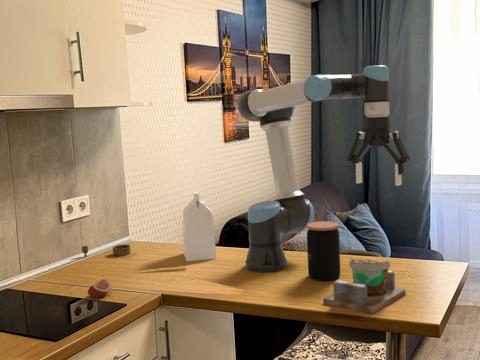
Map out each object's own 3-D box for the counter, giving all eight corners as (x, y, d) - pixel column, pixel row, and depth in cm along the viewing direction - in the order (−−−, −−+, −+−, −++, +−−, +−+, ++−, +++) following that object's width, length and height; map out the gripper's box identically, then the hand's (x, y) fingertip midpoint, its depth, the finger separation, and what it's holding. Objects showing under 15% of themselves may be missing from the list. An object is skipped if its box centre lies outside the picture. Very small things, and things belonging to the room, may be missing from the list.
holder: (323, 303, 171) (322, 280, 170) (358, 285, 186) (357, 264, 185) (372, 314, 160) (372, 289, 159) (405, 294, 175) (405, 271, 174)
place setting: (121, 265, 227) (120, 250, 226) (80, 261, 235) (78, 247, 234) (146, 253, 243) (145, 240, 242) (106, 251, 251) (105, 237, 250)
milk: (183, 255, 234) (179, 191, 231) (212, 253, 236) (208, 189, 233) (186, 263, 223) (182, 195, 219) (216, 260, 225) (212, 193, 221)
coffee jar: (316, 271, 204) (314, 220, 201) (345, 274, 198) (343, 222, 196) (303, 279, 195) (301, 226, 192) (333, 283, 189) (331, 228, 187)
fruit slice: (98, 291, 193) (97, 277, 192) (116, 293, 191) (115, 278, 190) (83, 300, 185) (82, 284, 184) (102, 301, 183) (101, 285, 182)
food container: (343, 294, 173) (342, 261, 172) (351, 288, 178) (350, 256, 177) (384, 300, 167) (383, 265, 165) (391, 293, 172) (390, 260, 170)
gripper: (335, 117, 187) (337, 183, 190) (409, 115, 171) (410, 187, 173) (348, 116, 193) (349, 180, 195) (420, 114, 176) (421, 184, 179)
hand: (378, 184), depth 184 cm, fingers open, 13 cm apart
